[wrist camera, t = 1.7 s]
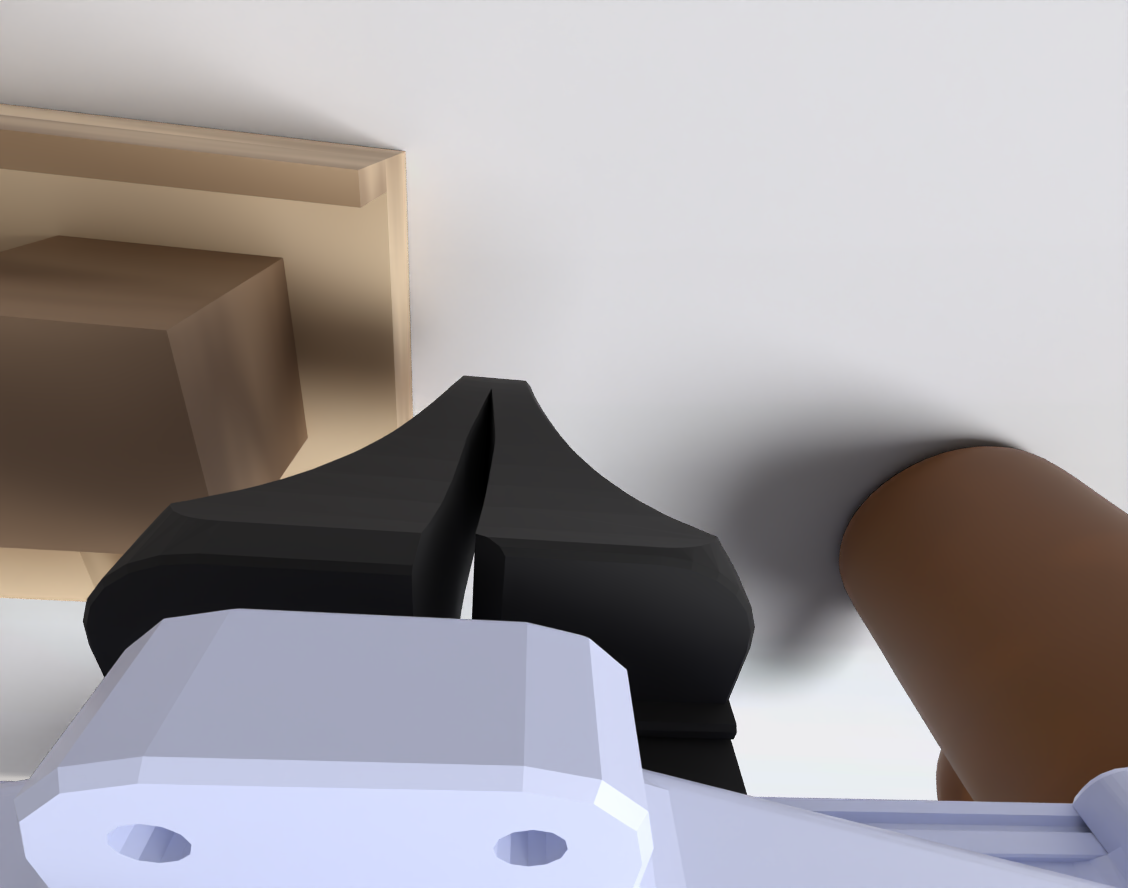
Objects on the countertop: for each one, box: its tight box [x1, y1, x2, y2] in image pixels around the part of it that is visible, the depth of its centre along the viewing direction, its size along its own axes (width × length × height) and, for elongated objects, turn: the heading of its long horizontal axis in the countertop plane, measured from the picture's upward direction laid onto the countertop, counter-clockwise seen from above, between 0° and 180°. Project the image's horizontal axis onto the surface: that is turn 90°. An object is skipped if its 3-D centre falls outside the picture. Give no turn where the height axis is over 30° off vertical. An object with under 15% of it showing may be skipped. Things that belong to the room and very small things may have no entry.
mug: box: [839, 446, 1128, 804], centre depth 17 cm, size 12×8×9 cm, turn 179°
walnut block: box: [0, 235, 308, 554], centre depth 11 cm, size 4×4×4 cm
